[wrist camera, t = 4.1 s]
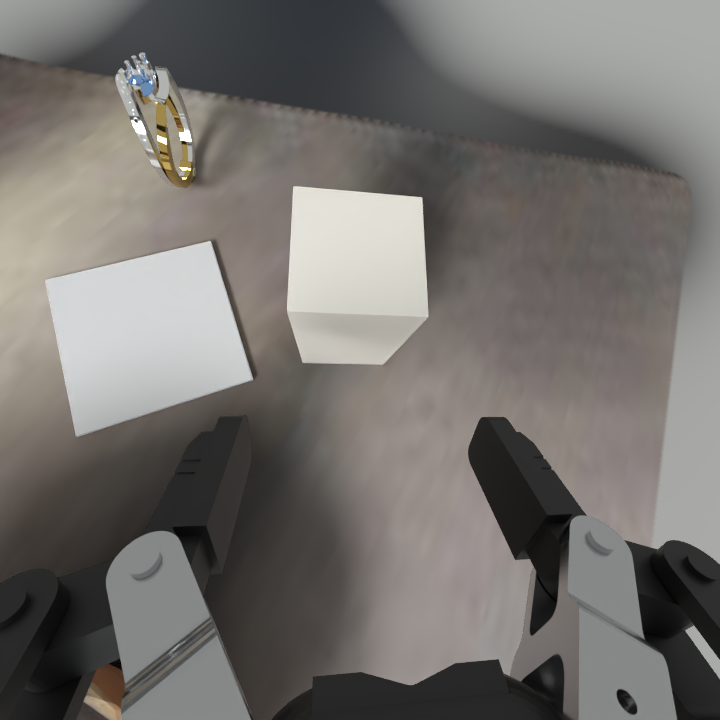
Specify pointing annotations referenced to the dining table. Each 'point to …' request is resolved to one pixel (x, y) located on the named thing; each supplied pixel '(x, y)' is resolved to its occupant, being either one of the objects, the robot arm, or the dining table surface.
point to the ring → (158, 118)
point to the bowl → (104, 695)
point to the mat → (145, 336)
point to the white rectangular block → (355, 274)
